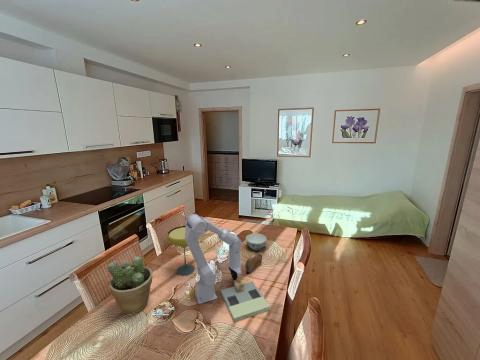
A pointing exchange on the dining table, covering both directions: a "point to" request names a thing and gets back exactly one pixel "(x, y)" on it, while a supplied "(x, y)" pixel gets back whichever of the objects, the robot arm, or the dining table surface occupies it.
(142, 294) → the potted plant
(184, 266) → the cocktail glass
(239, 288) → the beech block
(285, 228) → the dining table surface
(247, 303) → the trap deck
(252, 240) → the chinaware
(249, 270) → the brown flat slab
